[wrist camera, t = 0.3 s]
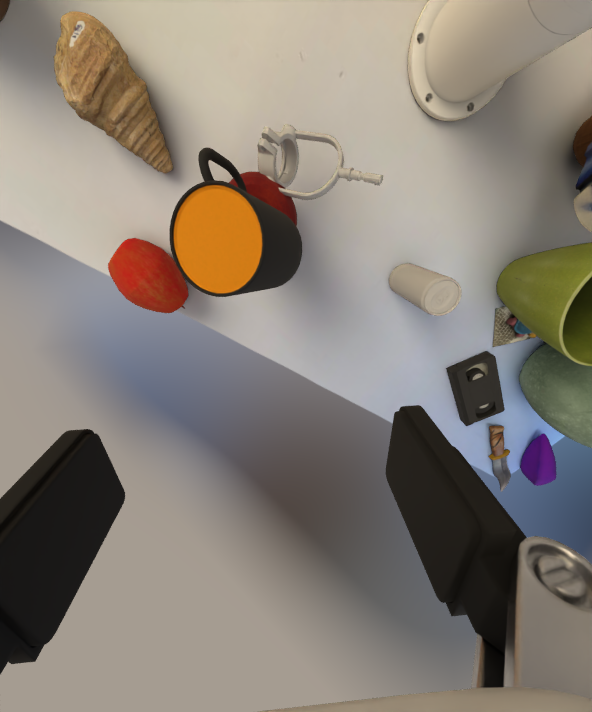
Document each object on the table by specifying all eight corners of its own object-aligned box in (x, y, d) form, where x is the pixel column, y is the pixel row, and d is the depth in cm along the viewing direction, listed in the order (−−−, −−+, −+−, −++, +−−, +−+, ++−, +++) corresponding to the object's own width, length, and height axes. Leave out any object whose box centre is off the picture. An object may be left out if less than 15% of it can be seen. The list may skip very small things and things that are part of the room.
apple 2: (242, 263, 42) (233, 276, 33) (213, 193, 38) (194, 187, 29) (302, 241, 41) (310, 248, 32) (279, 166, 37) (281, 151, 28)
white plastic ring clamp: (364, 193, 25) (345, 246, 30) (394, 166, 27) (372, 219, 33) (248, 128, 27) (249, 188, 32) (287, 109, 30) (282, 167, 35)
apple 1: (87, 272, 32) (167, 333, 37) (138, 221, 33) (209, 287, 38) (98, 274, 39) (164, 325, 44) (140, 233, 40) (200, 287, 45)
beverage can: (381, 280, 45) (415, 301, 34) (404, 255, 43) (446, 269, 32) (401, 299, 46) (439, 324, 36) (423, 275, 45) (470, 294, 34)
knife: (512, 491, 70) (493, 498, 70) (508, 486, 71) (489, 493, 71) (513, 421, 58) (490, 429, 59) (508, 417, 60) (485, 425, 60)
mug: (135, 152, 21) (212, 188, 31) (190, 308, 24) (245, 296, 33) (227, 97, 18) (280, 155, 28) (278, 281, 21) (311, 277, 30)
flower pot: (469, 251, 43) (564, 269, 29) (568, 213, 42) (721, 212, 28) (476, 334, 50) (556, 382, 36) (562, 303, 48) (682, 341, 34)
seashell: (174, 162, 39) (206, 119, 35) (154, 196, 36) (186, 153, 31) (59, 54, 31) (80, -24, 26) (16, 84, 27) (30, -1, 22)
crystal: (565, 438, 58) (555, 490, 64) (544, 424, 63) (537, 474, 68) (541, 443, 58) (534, 495, 64) (522, 429, 63) (517, 478, 68)
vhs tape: (497, 404, 58) (504, 410, 56) (460, 419, 59) (466, 426, 57) (487, 350, 52) (495, 355, 50) (446, 368, 53) (452, 373, 51)
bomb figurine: (542, 296, 48) (572, 305, 43) (536, 335, 51) (564, 348, 46) (495, 308, 48) (520, 318, 43) (492, 347, 51) (515, 360, 47)
